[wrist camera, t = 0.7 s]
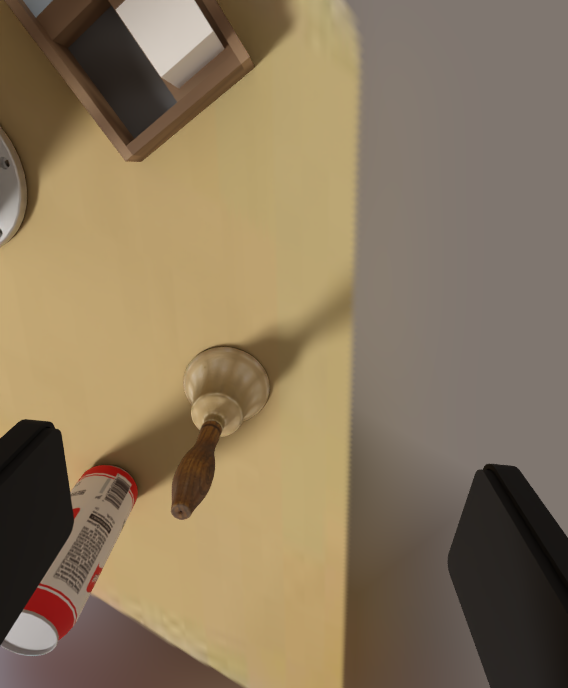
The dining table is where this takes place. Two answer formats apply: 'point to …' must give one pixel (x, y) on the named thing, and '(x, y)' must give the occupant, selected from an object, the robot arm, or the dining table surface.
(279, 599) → the dining table surface
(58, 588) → the beer can
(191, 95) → the tray
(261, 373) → the hand bell
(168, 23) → the block
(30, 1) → the bay
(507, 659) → the robot arm
